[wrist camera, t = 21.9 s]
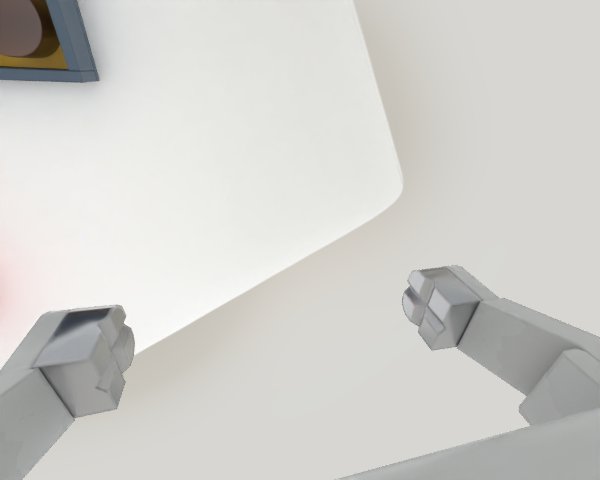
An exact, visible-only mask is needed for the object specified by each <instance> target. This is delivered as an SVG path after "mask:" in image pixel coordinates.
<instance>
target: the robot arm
mask: <svg viewBox="0 0 600 480" xmlns="http://www.w3.org/2000/svg"><path fill="white" fill-rule="evenodd" d="M408 283H409V285H410V287H408V288H407V289H406V290H405V292H404V294H403V298H402V305H403V310H404V312H405V315H406V316H407V317H408V319H409V320H410V321H411V322H412V323H414V324H416V325H417V326H419V329H418V333H419V334H420V336H421V337H422V338H423V339H424V341H425V342H426V344H427V345H428V346H429V348H430V349H431V350H438V349H445V348H451V347H457V349H459V350H460V351H462V352H463V353H465V354H466V355H468V356H469V357H471V358H472V359H473V360H475V361H476V362H478V363H479V364H481V365H482V366H484V367H485V368H487V369H488V370H489V371H491V372H493V373H494V374H495V375H497V376H498V377H500V378H501V379H503V380H504V381H506V382H507V383H508V384H510V385H511V386H513V387H514V388H516V389H517V390H519V391H520V392H522V393H523V394H525V395H526V396H527V397H526V398H525V400H524V401H523V402H522V403H521V404H520V406H519V412H520V414H521V415H522V416H523V417H524V418H525V419H526V421H527V422H528V423H529V424H530V426H529V427H525V428H521V429H518V430H514V431H510V432H507V433H503V434H499V435H496V436H492V437H488V438H485V439H481V440H477V441H474V442H470V443H467V444H463V445H459V446H456V447H452V448H449V449H445V450H441V451H437V452H434V453H430V454H426V455H423V456H419V457H416V458H412V459H409V460H405V461H401V462H398V463H394V464H390V465H386V466H383V467H379V468H375V469H372V470H368V471H364V472H361V473H358V474H354V475H350V476H346V477H343V478H339V479H335V480H600V337H598V336H596V335H593V334H591V333H588V332H586V331H583V330H581V329H579V328H576V327H574V326H571V325H569V324H566V323H564V322H561V321H559V320H557V319H554V318H552V317H549V316H547V315H545V314H542V313H540V312H537V311H535V310H532V309H530V308H527V307H525V306H523V305H520V304H518V303H515V302H513V301H510V300H508V299H505V298H499V297H497V296H496V295H495V294H494V293H493V292H491V291H490V290H489V289H488V288H487V287H485V286H484V285H483V284H482V283H481V282H479V281H478V280H477V279H476V278H475V277H473V276H472V275H471V274H470V273H469V272H467V271H466V270H465V269H464V268H463V267H461V266H458V265H451V266H445V267H439V268H430V269H422V270H414V271H412V272H411V274H410V275H409V278H408ZM125 318H126V314H125V312H124V310H123V307H122V306H120V305H109V306H99V307H88V308H77V309H72V310H61V311H50V312H47V313H45V314H43V315H42V316H41V317H40V318H39V319H38V321H37V322H36V323H35V325H34V326H33V327H32V329H31V330H30V331H29V333H28V334H27V335H26V337H25V338H24V339H23V341H22V342H21V343H20V345H19V346H18V348H17V349H16V350H15V352H14V353H13V354H12V356H11V357H10V358H9V360H8V361H7V362H6V364H5V365H4V366H3V368H2V369H1V370H0V480H22V479H23V478H24V477H25V475H26V474H27V473H28V472H29V471H30V470H31V469H32V468H33V467H34V466H35V464H36V463H37V462H38V461H39V460H40V459H41V458H42V456H44V454H45V453H46V452H47V451H48V450H49V449H50V448H51V447H52V445H53V444H54V443H55V442H56V441H57V440H58V439H59V438H60V436H61V435H62V434H63V433H64V432H65V431H66V430H67V428H68V427H69V426H70V425H71V424H72V423H73V422H74V421H75V420H74V418H77V417H82V416H86V415H91V414H96V413H101V412H105V411H110V410H115V409H117V407H118V404H119V401H120V397H121V395H122V391H123V388H124V385H125V380H124V378H123V375H122V373H123V372H124V371H126V370H127V369H128V368H129V367H130V366H131V363H132V359H133V356H134V346H135V342H134V335H133V332H132V330H131V328H130V327H128V326H126V325H125V324H123V323H124V320H125Z"/></svg>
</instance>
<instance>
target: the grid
mask: <svg viewBox="0 0 600 480" xmlns="http://www.w3.org/2000/svg"><path fill="white" fill-rule="evenodd" d="M46 3H47V6H48V9H49V12H50V15H51V18H52V21H53V24H54V27H55V30H56V33H57V37H58V40H59V43H60V45H59V47H58V49H57V50H56V51H55V52H54V53H53V54H52V55H50V56H48V57H45V58H21V57H9V56H5V55H2V54H0V80H20V81H51V82H81V83H83V82H92V81H99V77H98V74H97V70H96V67H95V63H94V60H93V56H92V53H91V49H90V46H89V42H88V39H87V35H86V32H85V28H84V25H83V21H82V18H81V14H80V11H79V7H78V4H77V0H46Z"/></svg>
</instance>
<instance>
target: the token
mask: <svg viewBox="0 0 600 480" xmlns="http://www.w3.org/2000/svg"><path fill="white" fill-rule="evenodd" d="M59 45H60V43H59V40H58V37H57V33H56V30H55V27H54V24H53V21H52V18H51V15H50V12H49V9H48V6H47V3H46V0H0V54H2V55H5V56H9V57H21V58H45V57H48V56H50V55H52V54H53V53H54V52H55V51H56V50H57V49H58V47H59Z"/></svg>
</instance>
